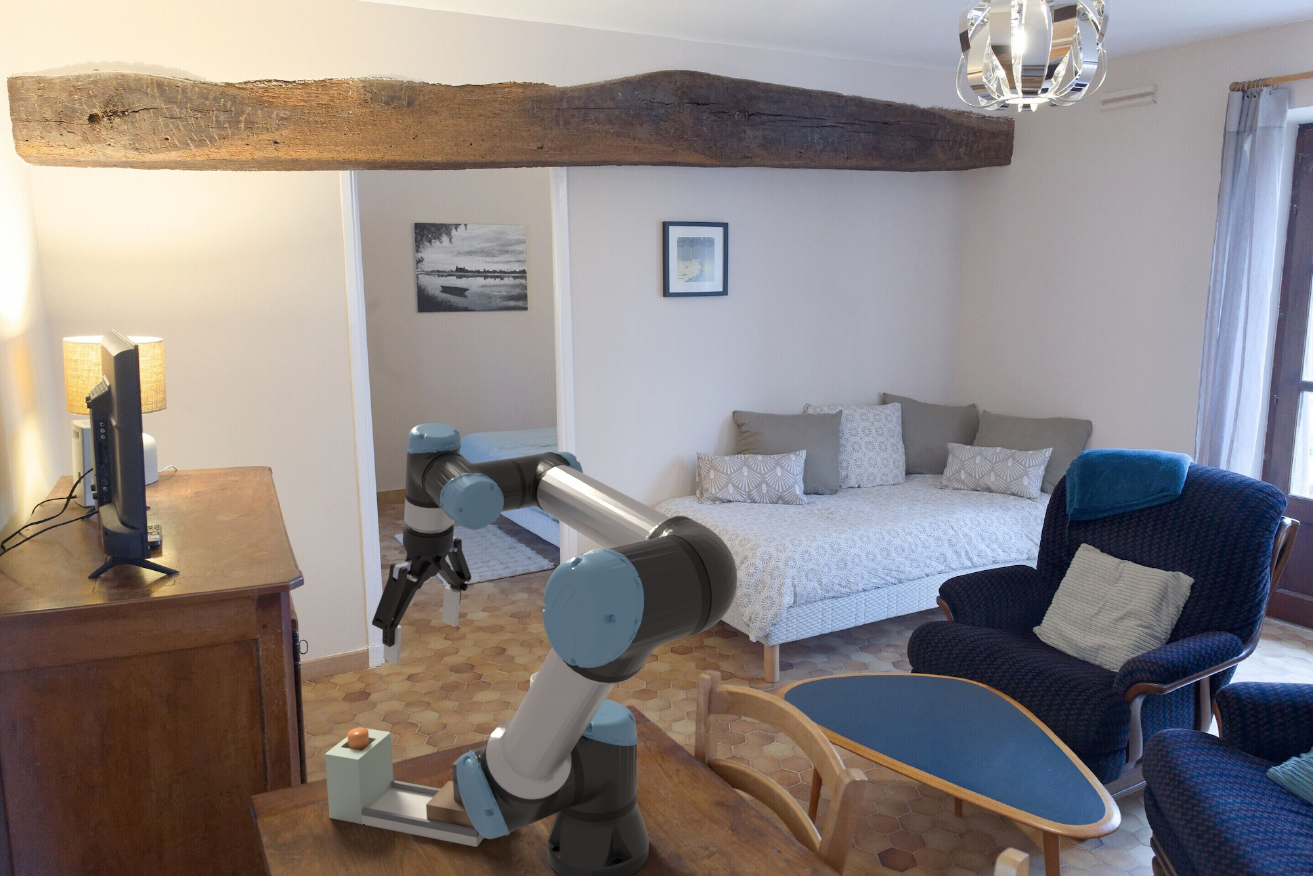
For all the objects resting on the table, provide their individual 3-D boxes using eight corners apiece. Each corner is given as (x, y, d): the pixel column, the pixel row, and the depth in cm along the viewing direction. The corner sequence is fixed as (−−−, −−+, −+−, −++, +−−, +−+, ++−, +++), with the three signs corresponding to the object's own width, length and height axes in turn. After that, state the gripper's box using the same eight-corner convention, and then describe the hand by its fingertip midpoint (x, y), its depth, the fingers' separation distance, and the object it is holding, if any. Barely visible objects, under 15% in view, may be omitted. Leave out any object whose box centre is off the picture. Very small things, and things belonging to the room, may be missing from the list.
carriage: (506, 808, 146) (504, 755, 144) (485, 833, 139) (483, 778, 138) (449, 797, 149) (447, 746, 147) (427, 822, 142) (424, 768, 141)
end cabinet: (394, 793, 153) (390, 732, 151) (362, 824, 145) (358, 759, 143) (362, 788, 155) (359, 727, 153) (329, 817, 146) (324, 753, 144)
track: (503, 813, 147) (503, 799, 147) (476, 846, 139) (476, 831, 138) (394, 793, 153) (393, 779, 153) (362, 824, 145) (361, 809, 144)
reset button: (373, 743, 149) (372, 729, 149) (361, 752, 146) (360, 738, 146) (356, 740, 150) (355, 726, 149) (344, 749, 147) (343, 735, 146)
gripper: (462, 490, 152) (454, 601, 160) (349, 543, 131) (346, 667, 139) (499, 505, 149) (489, 617, 157) (389, 560, 128) (383, 687, 136)
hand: (421, 641), depth 148 cm, fingers open, 13 cm apart
